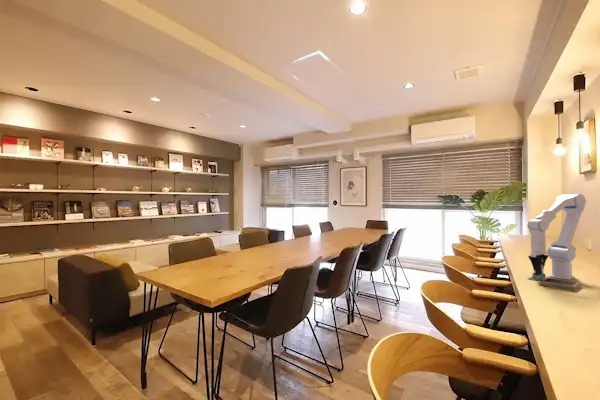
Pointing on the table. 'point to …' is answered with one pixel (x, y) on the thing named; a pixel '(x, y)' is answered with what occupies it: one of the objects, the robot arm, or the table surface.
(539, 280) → the mat
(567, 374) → the table surface
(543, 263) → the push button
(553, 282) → the frame
